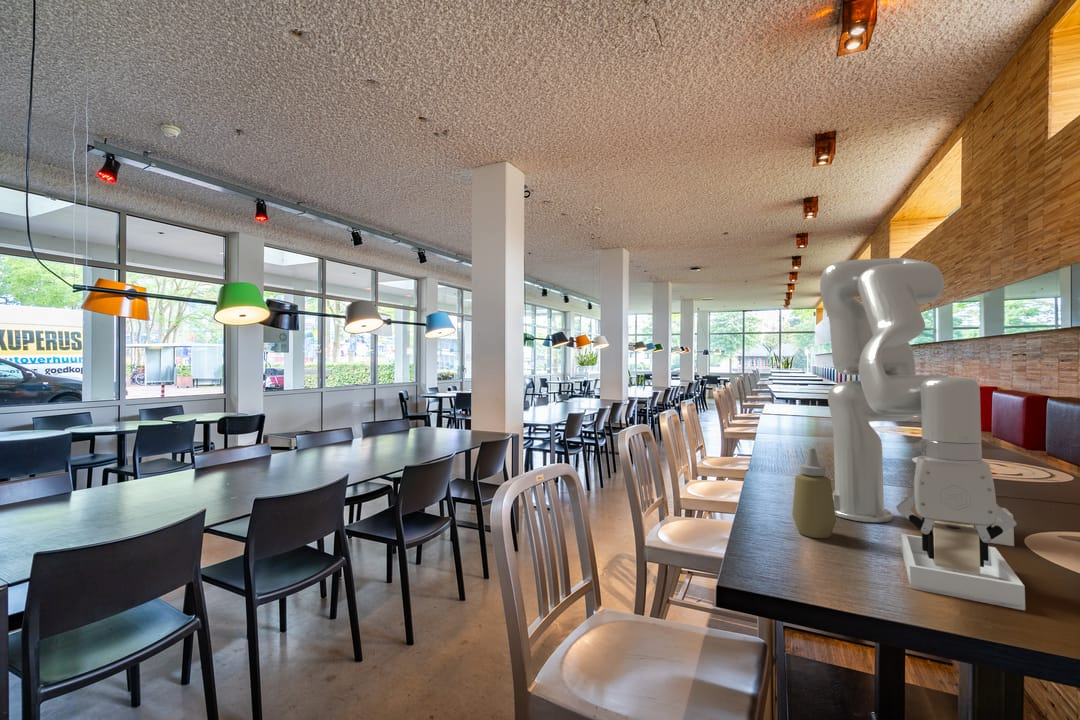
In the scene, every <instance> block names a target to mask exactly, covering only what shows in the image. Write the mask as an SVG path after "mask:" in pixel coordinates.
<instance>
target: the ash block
mask: <svg viewBox="0 0 1080 720" xmlns="http://www.w3.org/2000/svg"><path fill="white" fill-rule="evenodd" d="M931 530H932V534H933V537H934V558H933V561H934V564H935V566H939V567H945V568H951V569H957V570H963V571H968V572H974V573H980V544H979V534H978V533H977V532H976V530H975V529H974V527H973V526H972V525H970V524H963V523H955V522H947V521H939V520H935V522H934V524H933V526H932V528H931Z"/></svg>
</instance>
